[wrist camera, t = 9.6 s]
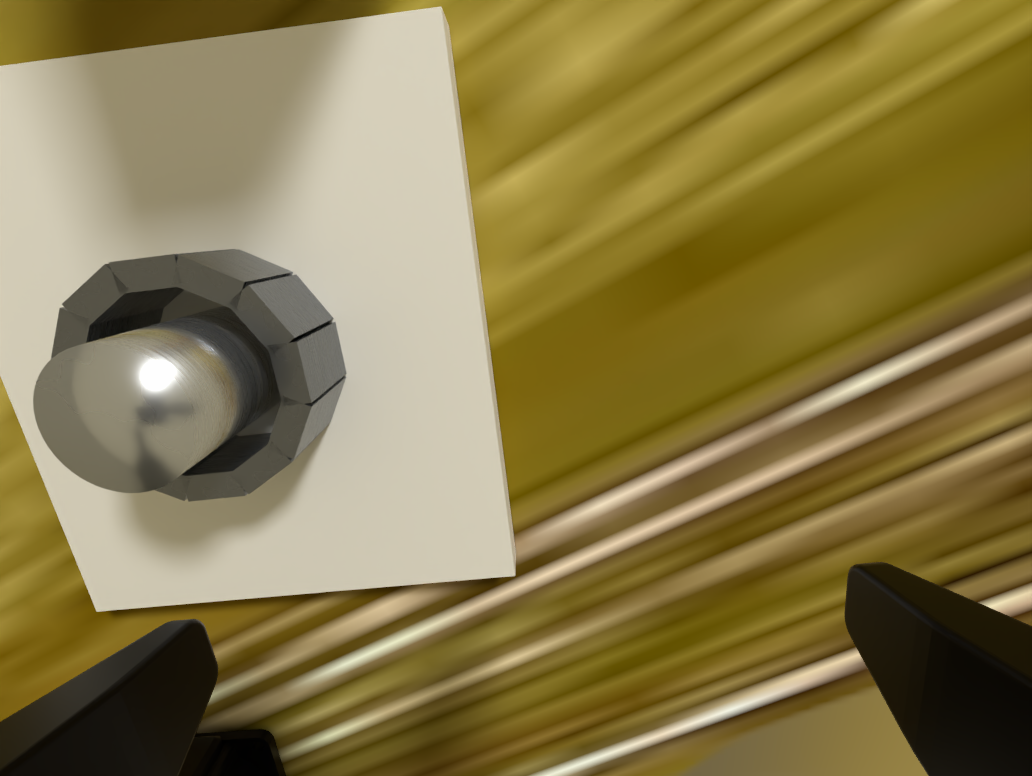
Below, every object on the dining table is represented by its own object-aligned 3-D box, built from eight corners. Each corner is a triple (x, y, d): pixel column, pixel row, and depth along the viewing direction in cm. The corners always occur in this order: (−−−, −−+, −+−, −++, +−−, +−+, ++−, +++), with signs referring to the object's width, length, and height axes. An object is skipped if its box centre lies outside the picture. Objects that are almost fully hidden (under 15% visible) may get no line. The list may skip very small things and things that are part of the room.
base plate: (515, 551, 21) (515, 576, 20) (124, 586, 22) (96, 611, 20) (448, 26, 16) (440, 6, 14) (-64, 94, 16) (-120, 82, 15)
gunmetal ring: (362, 445, 18) (332, 487, 15) (169, 465, 18) (103, 510, 16) (317, 238, 16) (272, 241, 13) (101, 265, 16) (12, 273, 14)
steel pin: (305, 408, 18) (214, 485, 12) (201, 418, 18) (66, 499, 13) (279, 300, 17) (167, 334, 11) (169, 312, 17) (7, 352, 12)
